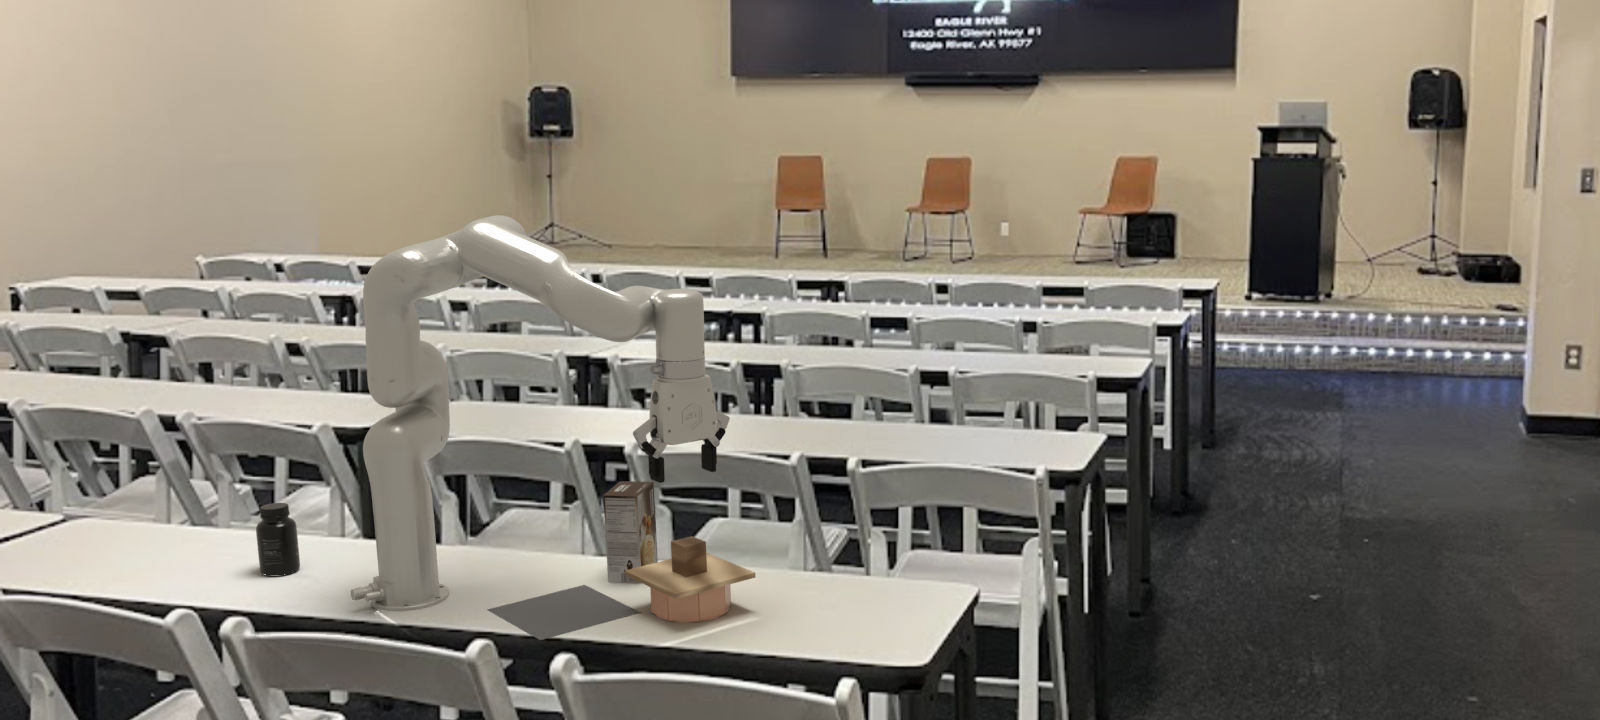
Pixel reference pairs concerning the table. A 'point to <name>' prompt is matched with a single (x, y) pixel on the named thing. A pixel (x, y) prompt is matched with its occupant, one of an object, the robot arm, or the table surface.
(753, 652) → the table surface
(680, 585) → the lid
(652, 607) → the bowl
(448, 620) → the table surface
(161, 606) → the table surface
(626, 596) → the table surface
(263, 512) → the supplement bottle
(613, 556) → the coffee box
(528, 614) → the mat
